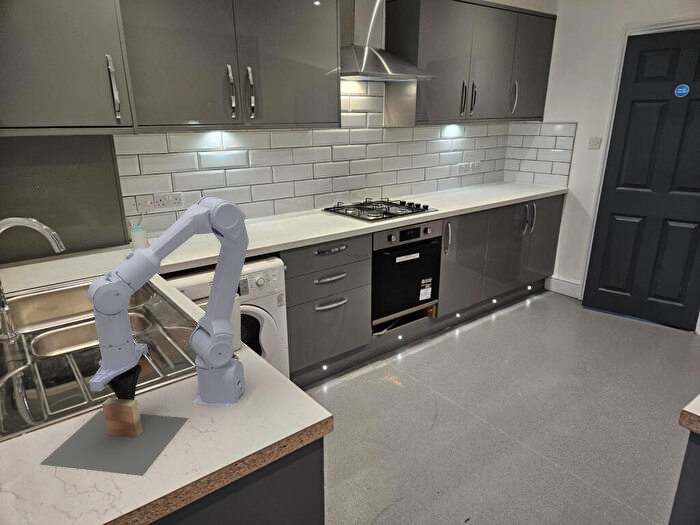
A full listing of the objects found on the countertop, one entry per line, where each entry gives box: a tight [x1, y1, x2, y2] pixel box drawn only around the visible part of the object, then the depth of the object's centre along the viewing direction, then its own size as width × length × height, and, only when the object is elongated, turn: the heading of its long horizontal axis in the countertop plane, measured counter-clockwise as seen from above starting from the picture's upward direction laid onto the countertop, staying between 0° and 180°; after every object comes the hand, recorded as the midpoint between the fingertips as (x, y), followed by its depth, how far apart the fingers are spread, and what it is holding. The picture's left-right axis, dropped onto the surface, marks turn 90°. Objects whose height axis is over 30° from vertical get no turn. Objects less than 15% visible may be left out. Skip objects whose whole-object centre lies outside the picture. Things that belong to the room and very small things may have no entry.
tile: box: [101, 397, 143, 438], centre depth 88 cm, size 6×2×7 cm, turn 81°
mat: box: [39, 409, 190, 477], centre depth 87 cm, size 20×16×1 cm
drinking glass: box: [230, 293, 242, 353], centre depth 121 cm, size 7×7×15 cm
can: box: [130, 225, 150, 251], centre depth 219 cm, size 7×7×12 cm
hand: (127, 403), depth 89 cm, fingers closed
